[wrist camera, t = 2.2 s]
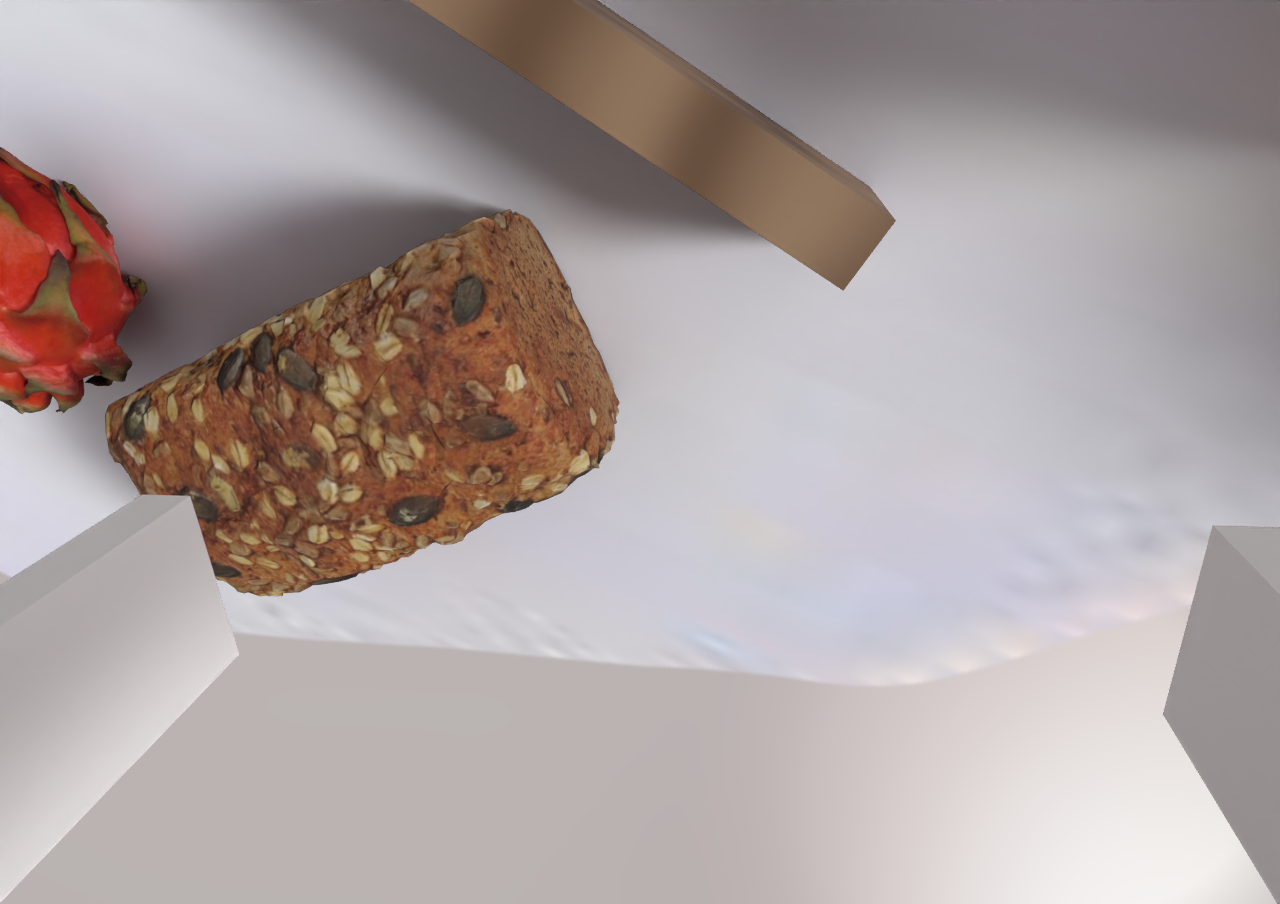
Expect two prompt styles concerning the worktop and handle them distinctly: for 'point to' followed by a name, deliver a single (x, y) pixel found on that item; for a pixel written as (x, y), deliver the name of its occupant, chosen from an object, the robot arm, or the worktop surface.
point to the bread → (379, 413)
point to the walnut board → (681, 124)
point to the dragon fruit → (57, 293)
